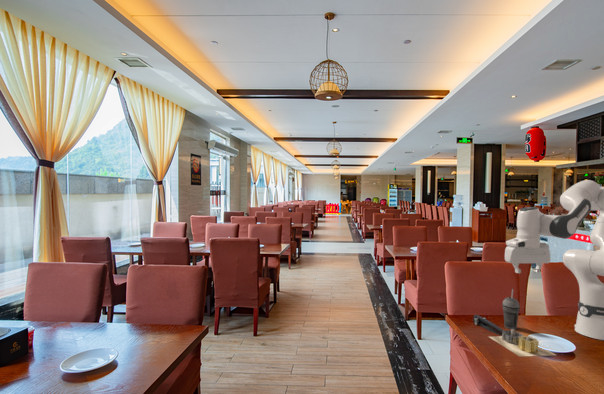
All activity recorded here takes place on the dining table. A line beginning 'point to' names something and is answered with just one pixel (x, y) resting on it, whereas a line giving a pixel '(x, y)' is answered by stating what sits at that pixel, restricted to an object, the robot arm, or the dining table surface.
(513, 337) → the gear
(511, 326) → the beverage cup
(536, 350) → the gear
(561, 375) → the dining table surface
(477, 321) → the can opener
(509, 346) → the gear board
